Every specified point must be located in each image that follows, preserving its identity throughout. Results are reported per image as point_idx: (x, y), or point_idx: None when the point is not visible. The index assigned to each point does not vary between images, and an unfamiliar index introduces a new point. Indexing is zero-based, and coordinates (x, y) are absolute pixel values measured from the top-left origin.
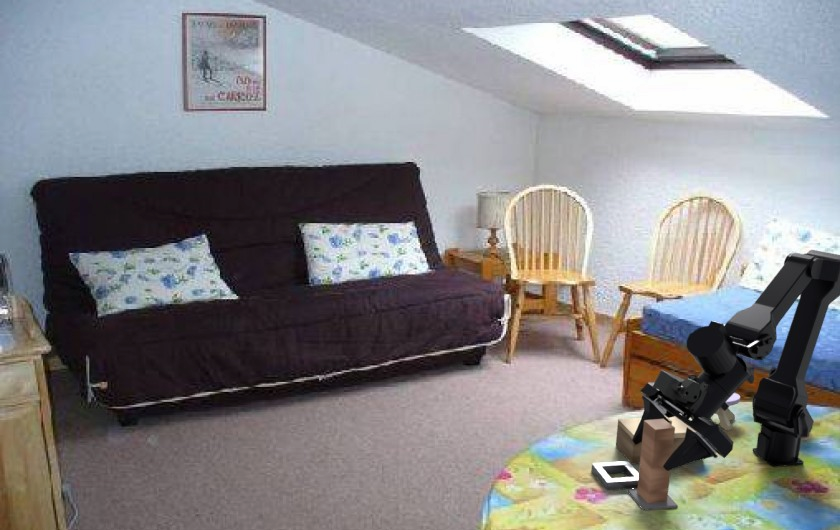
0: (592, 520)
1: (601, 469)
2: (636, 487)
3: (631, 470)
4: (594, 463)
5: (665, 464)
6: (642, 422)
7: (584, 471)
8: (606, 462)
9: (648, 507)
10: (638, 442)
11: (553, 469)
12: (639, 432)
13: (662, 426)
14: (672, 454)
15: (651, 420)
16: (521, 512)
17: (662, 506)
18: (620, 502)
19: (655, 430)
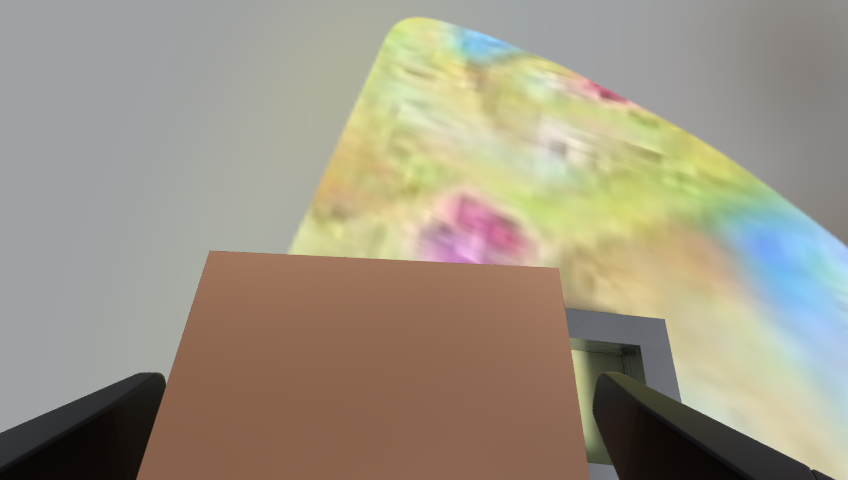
0: (330, 185)
1: (610, 331)
2: None
3: (599, 475)
4: (664, 329)
5: (132, 381)
6: (782, 477)
7: (642, 304)
8: (677, 387)
9: None
10: (604, 429)
11: (652, 212)
12: (653, 420)
13: (257, 456)
14: (42, 437)
15: (546, 388)
16: (423, 60)
17: None
18: None
19: (212, 261)
